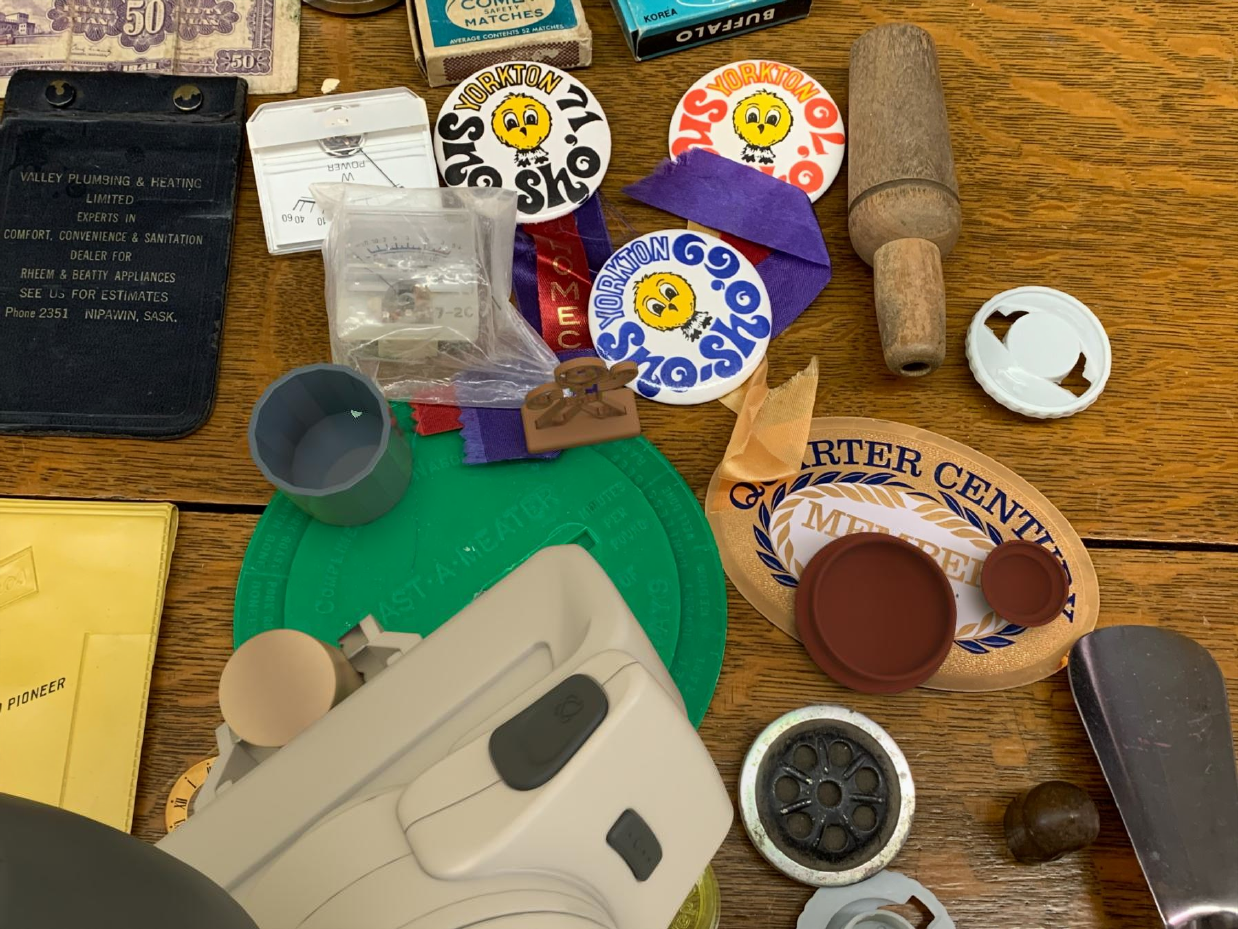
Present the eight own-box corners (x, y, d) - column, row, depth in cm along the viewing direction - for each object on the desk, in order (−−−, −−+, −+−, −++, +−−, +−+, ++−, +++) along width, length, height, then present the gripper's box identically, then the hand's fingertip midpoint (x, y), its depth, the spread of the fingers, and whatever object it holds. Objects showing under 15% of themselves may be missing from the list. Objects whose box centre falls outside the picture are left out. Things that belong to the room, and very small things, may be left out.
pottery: (773, 551, 72) (784, 539, 68) (1024, 508, 73) (1051, 493, 69) (809, 709, 69) (824, 707, 64) (1071, 660, 70) (1102, 654, 66)
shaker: (339, 768, 38) (259, 773, 29) (289, 696, 39) (195, 677, 30) (413, 710, 39) (358, 696, 30) (363, 641, 40) (294, 605, 30)
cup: (333, 551, 71) (298, 523, 62) (263, 456, 73) (220, 416, 64) (437, 476, 73) (417, 439, 64) (366, 385, 74) (338, 337, 66)
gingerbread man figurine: (528, 455, 73) (517, 399, 62) (520, 408, 74) (508, 345, 63) (641, 436, 74) (651, 377, 63) (632, 390, 75) (640, 324, 64)
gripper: (126, 1354, 22) (109, 924, 34) (780, 776, 26) (569, 568, 38) (-93, 1276, 19) (-30, 828, 30) (696, 629, 23) (492, 450, 34)
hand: (307, 680), depth 34 cm, fingers closed on shaker, 3 cm apart
